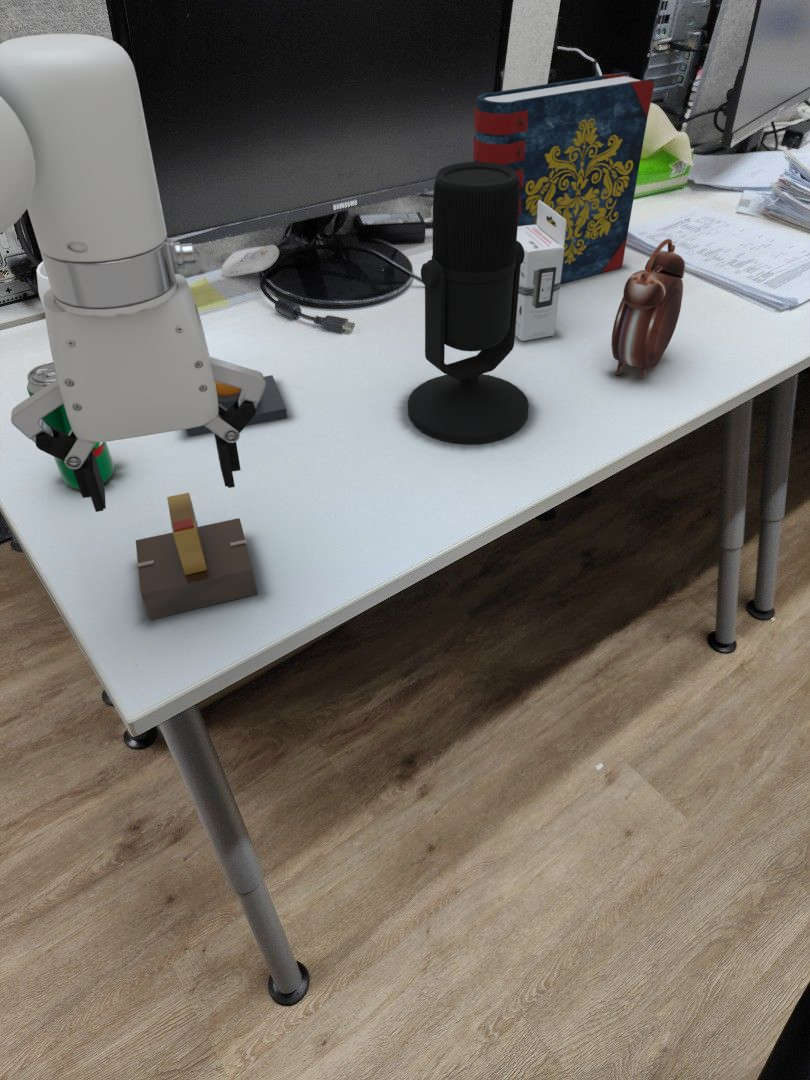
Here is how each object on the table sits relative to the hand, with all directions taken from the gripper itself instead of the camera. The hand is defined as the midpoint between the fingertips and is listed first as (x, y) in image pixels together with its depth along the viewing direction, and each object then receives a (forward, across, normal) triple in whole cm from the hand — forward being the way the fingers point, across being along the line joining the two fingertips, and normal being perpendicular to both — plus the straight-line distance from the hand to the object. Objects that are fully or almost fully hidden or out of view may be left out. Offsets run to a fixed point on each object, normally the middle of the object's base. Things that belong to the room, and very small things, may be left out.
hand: (165, 489), depth 59 cm
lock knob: (+7, -1, 0) cm, 7 cm away
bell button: (+7, -8, -27) cm, 29 cm away
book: (+8, -57, -48) cm, 75 cm away
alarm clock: (+9, -56, -20) cm, 60 cm away
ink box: (+9, -48, -35) cm, 60 cm away
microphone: (+9, -33, -18) cm, 39 cm away
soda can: (+10, +8, -19) cm, 23 cm away
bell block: (+10, -8, -27) cm, 30 cm away
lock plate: (+10, -1, 0) cm, 10 cm away
